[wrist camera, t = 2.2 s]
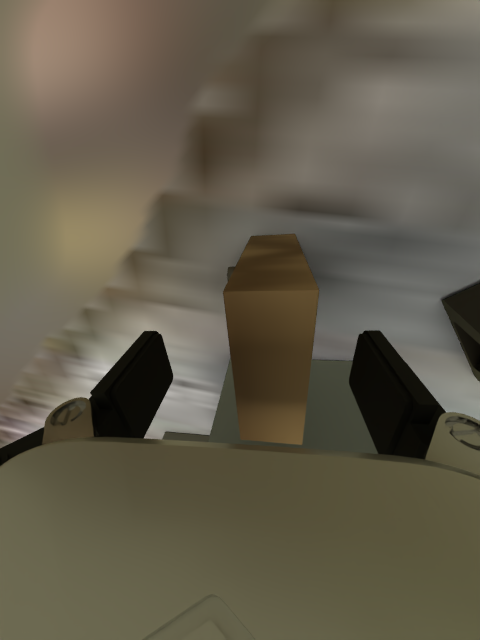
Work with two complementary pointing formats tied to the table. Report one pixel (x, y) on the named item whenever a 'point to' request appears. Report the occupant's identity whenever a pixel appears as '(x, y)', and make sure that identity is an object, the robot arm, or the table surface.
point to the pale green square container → (320, 419)
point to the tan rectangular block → (271, 337)
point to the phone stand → (467, 323)
